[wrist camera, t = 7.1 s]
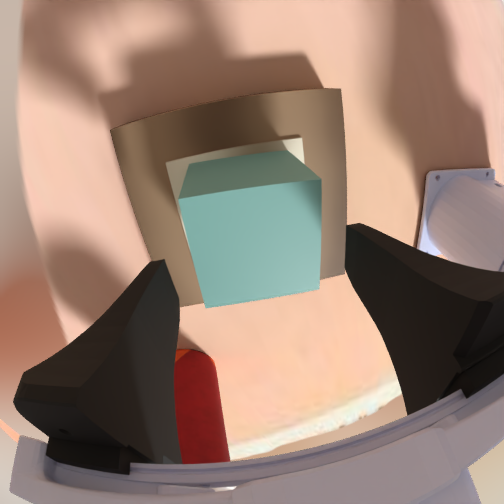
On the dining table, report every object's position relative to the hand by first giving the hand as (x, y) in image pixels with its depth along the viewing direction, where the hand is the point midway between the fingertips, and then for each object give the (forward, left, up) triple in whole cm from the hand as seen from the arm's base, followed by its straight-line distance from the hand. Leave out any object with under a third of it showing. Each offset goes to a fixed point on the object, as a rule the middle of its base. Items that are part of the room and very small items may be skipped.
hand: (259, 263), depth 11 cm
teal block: (0, -1, -5) cm, 5 cm away
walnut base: (0, 0, -8) cm, 8 cm away
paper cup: (+8, +16, -8) cm, 20 cm away
